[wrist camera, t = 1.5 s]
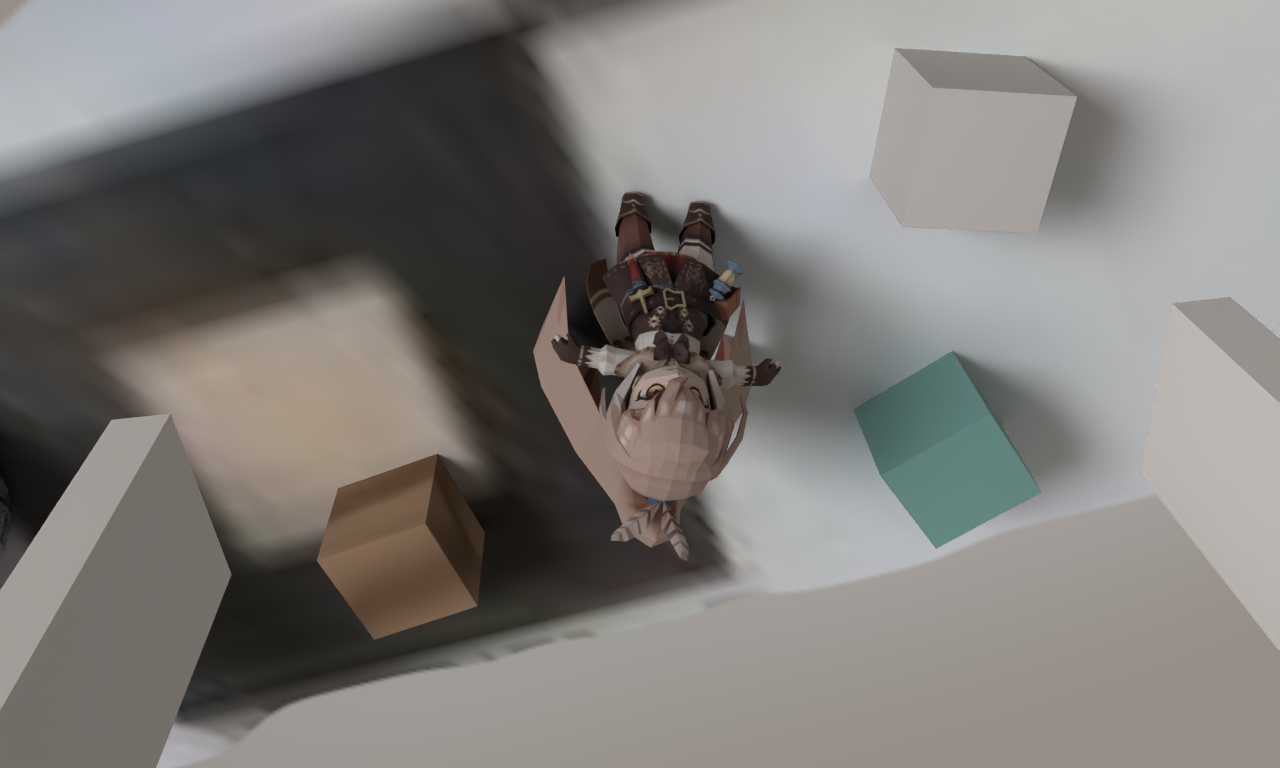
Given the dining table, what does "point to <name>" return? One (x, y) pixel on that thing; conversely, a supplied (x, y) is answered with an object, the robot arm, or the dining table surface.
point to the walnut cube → (404, 547)
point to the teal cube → (944, 451)
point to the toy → (654, 373)
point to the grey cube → (969, 140)
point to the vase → (4, 512)
